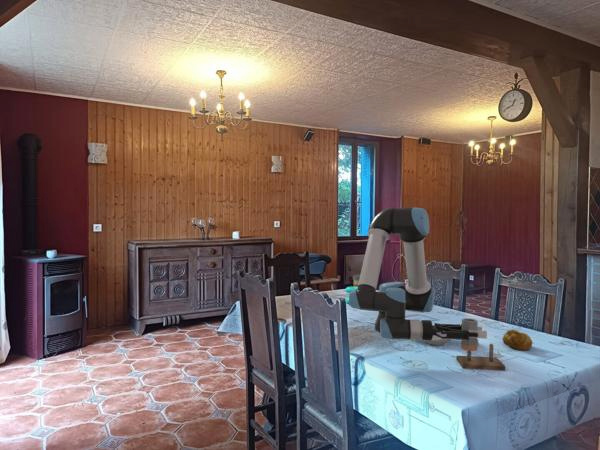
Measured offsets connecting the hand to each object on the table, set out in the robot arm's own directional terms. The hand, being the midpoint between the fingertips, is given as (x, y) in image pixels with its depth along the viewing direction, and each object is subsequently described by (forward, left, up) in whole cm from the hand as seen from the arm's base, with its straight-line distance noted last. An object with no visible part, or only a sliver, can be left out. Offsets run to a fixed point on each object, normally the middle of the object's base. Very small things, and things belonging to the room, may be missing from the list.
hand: (483, 332), depth 161 cm
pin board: (-1, 0, -12) cm, 12 cm away
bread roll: (+21, +25, -13) cm, 35 cm away
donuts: (-49, +105, -13) cm, 117 cm away
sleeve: (-5, 0, -6) cm, 8 cm away
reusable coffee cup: (-43, +125, -13) cm, 133 cm away
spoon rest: (-7, +26, -13) cm, 29 cm away
